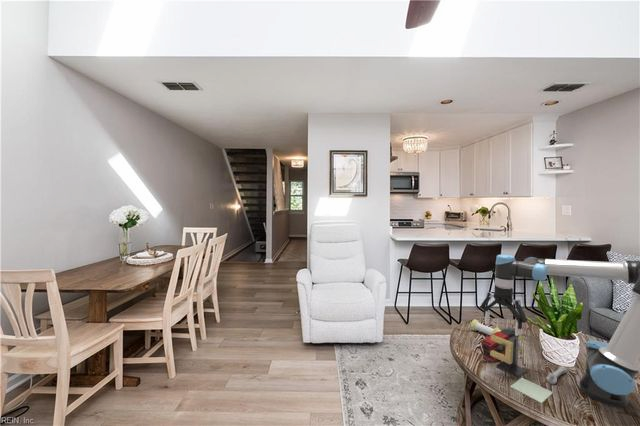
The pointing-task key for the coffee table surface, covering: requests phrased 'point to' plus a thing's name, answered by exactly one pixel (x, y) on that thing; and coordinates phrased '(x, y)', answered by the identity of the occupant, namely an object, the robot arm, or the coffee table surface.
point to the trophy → (488, 330)
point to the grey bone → (556, 375)
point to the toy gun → (492, 345)
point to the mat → (531, 390)
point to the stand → (513, 367)
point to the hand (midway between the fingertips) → (501, 329)
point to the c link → (508, 351)
